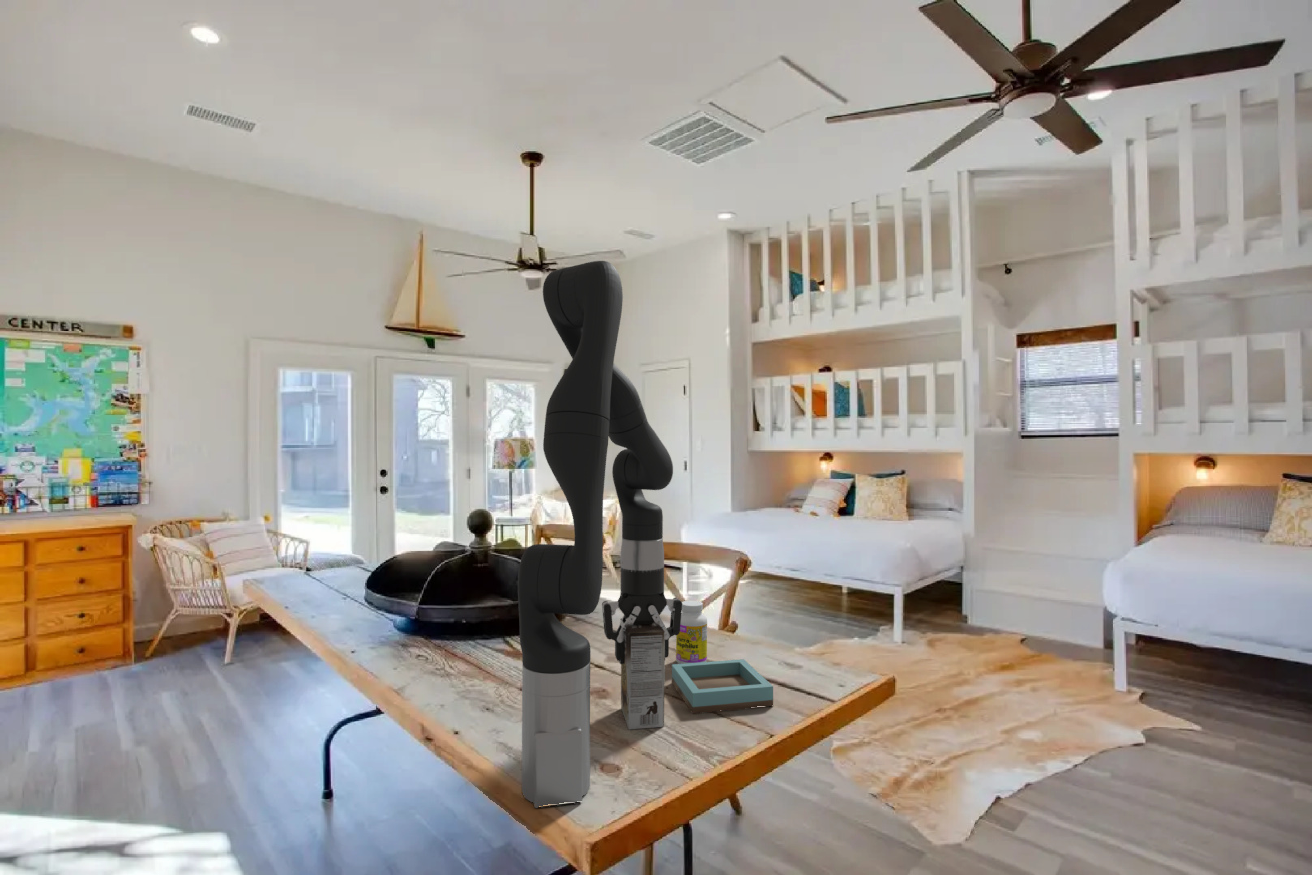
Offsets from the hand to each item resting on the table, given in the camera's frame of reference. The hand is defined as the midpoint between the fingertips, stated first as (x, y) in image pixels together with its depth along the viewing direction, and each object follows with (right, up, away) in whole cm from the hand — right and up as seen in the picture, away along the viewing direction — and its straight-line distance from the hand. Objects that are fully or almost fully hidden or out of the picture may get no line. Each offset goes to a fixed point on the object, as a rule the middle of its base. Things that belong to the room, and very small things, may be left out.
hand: (642, 660), depth 112 cm
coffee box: (0, -10, 0) cm, 10 cm away
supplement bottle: (+10, -10, +28) cm, 31 cm away
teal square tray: (+15, -10, +10) cm, 20 cm away
